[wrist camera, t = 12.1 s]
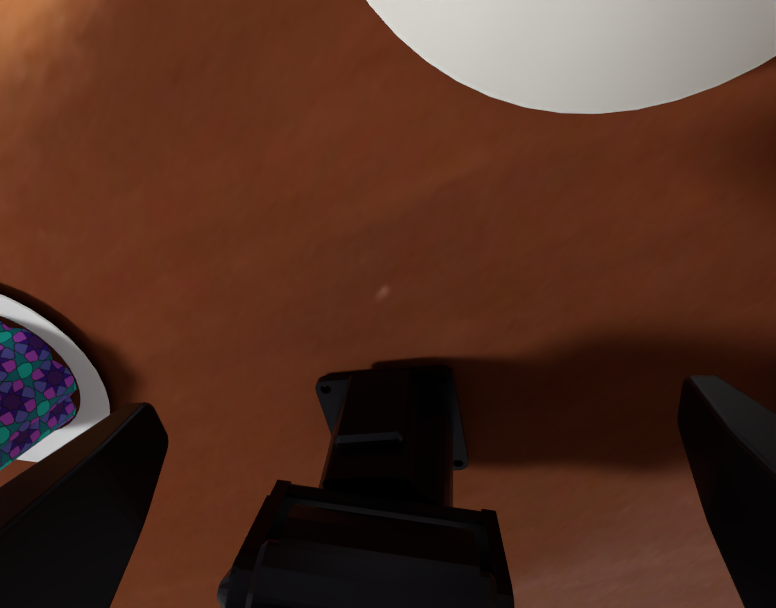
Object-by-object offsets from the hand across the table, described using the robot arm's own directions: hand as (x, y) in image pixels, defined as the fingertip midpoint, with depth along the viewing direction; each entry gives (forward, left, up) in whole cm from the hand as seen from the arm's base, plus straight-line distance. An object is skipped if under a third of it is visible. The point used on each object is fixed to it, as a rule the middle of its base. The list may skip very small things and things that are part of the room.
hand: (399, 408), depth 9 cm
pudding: (-7, +24, -13) cm, 28 cm away
